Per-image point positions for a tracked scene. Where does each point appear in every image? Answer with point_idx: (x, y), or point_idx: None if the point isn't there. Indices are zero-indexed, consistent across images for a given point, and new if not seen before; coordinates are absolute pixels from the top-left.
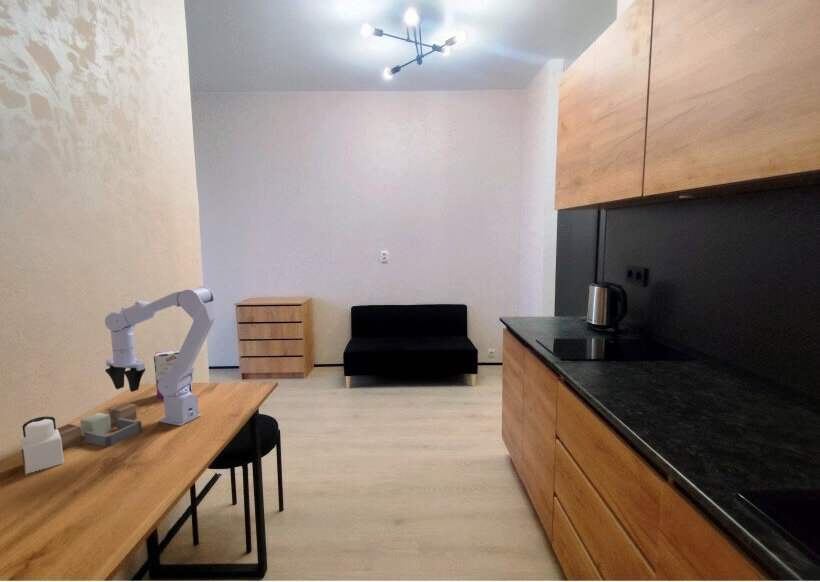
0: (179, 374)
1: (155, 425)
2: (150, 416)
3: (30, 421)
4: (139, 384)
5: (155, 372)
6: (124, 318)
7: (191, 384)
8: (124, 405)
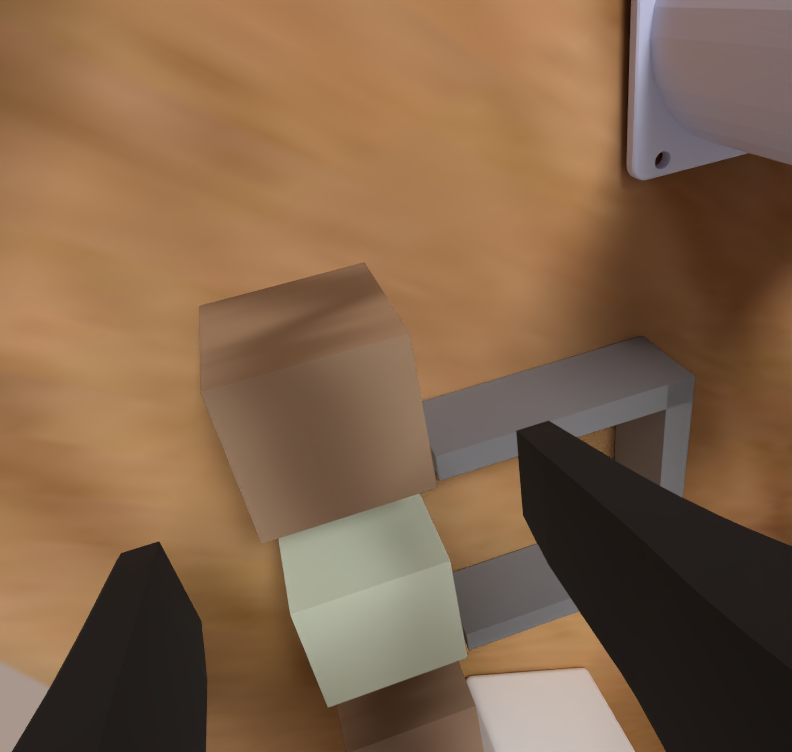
0: None
1: (656, 226)
2: (423, 147)
3: None
4: (607, 456)
5: None
6: None
7: None
8: (311, 420)
